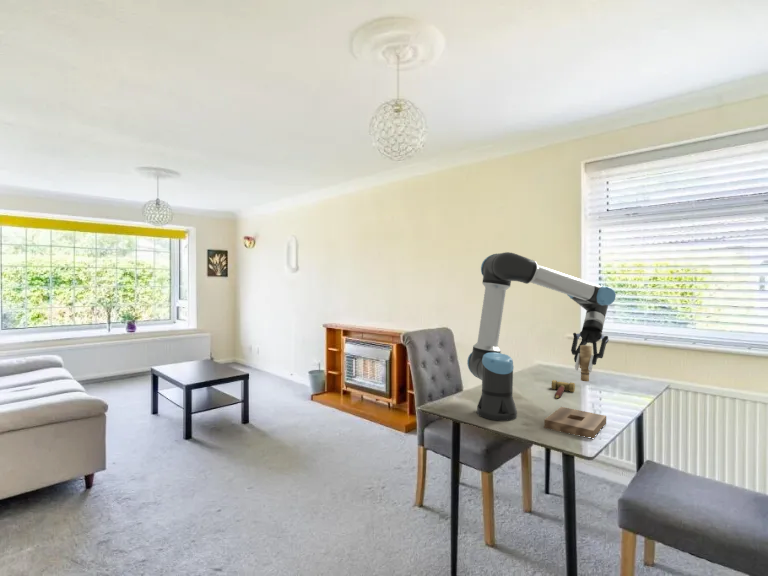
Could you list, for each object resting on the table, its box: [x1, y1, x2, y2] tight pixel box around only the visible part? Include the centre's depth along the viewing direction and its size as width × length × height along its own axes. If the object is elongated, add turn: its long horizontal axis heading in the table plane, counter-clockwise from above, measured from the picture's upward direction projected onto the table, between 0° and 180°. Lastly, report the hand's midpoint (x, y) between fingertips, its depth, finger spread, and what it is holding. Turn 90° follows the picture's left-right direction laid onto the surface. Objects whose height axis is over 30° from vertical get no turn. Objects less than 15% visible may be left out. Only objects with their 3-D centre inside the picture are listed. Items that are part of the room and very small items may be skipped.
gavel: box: [550, 379, 576, 399], centre depth 189 cm, size 21×5×10 cm
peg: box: [578, 344, 593, 382], centre depth 162 cm, size 4×4×14 cm
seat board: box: [543, 406, 607, 439], centre depth 146 cm, size 16×20×3 cm
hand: (583, 369), depth 159 cm, fingers closed on peg, 4 cm apart
